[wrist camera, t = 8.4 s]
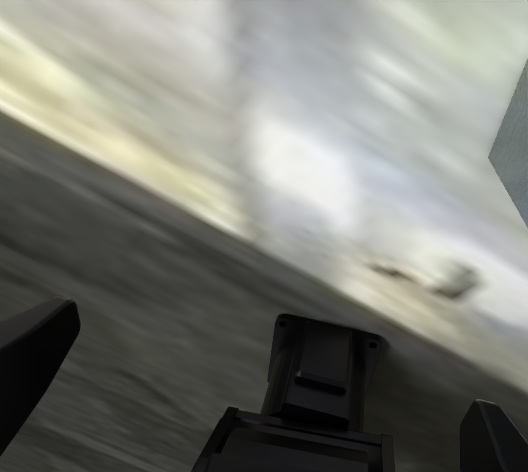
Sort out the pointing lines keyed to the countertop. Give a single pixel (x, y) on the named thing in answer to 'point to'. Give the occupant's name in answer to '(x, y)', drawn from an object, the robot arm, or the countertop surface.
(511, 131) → the box
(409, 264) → the countertop surface
